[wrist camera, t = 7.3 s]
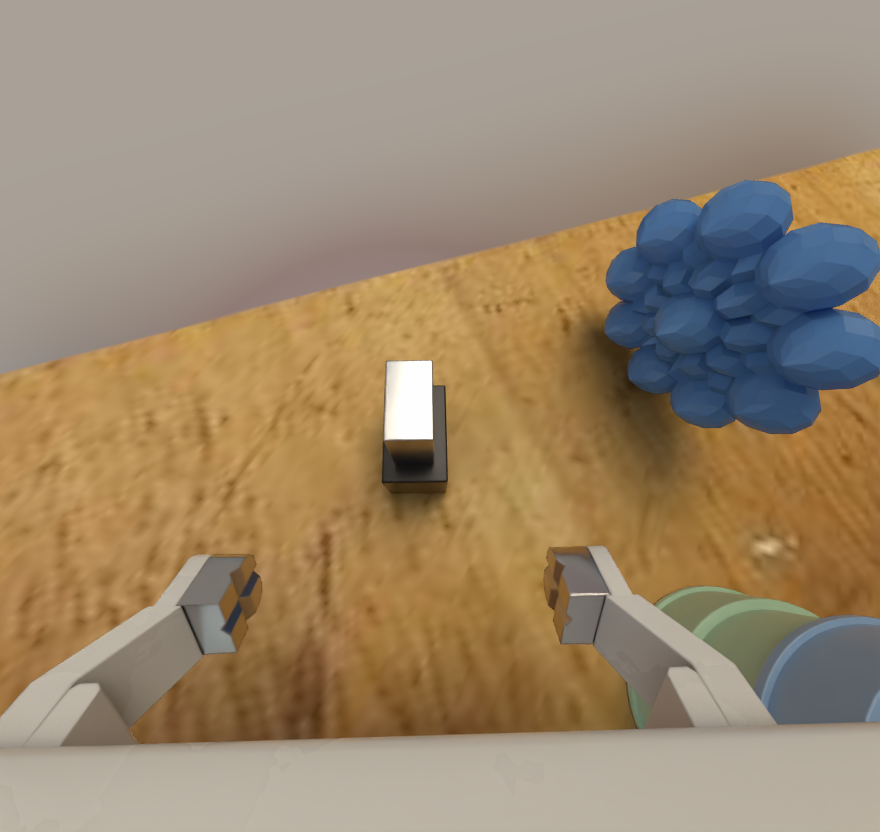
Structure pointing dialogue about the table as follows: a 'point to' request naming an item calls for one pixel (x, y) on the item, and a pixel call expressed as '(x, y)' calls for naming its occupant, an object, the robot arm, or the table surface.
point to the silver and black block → (414, 429)
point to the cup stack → (784, 654)
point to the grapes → (744, 309)
